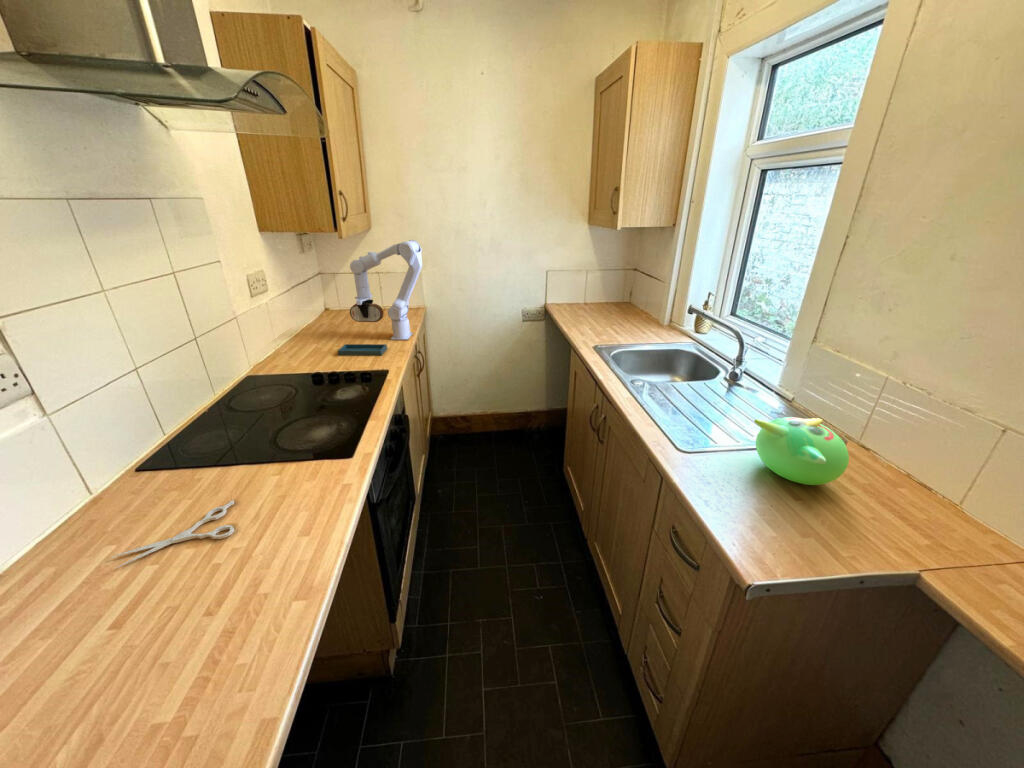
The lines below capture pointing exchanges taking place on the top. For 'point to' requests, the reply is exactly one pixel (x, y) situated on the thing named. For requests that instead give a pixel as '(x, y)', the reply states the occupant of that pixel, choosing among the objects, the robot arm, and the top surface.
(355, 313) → the tin
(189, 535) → the scissors
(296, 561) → the top surface
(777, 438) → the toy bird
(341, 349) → the tray
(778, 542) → the top surface
